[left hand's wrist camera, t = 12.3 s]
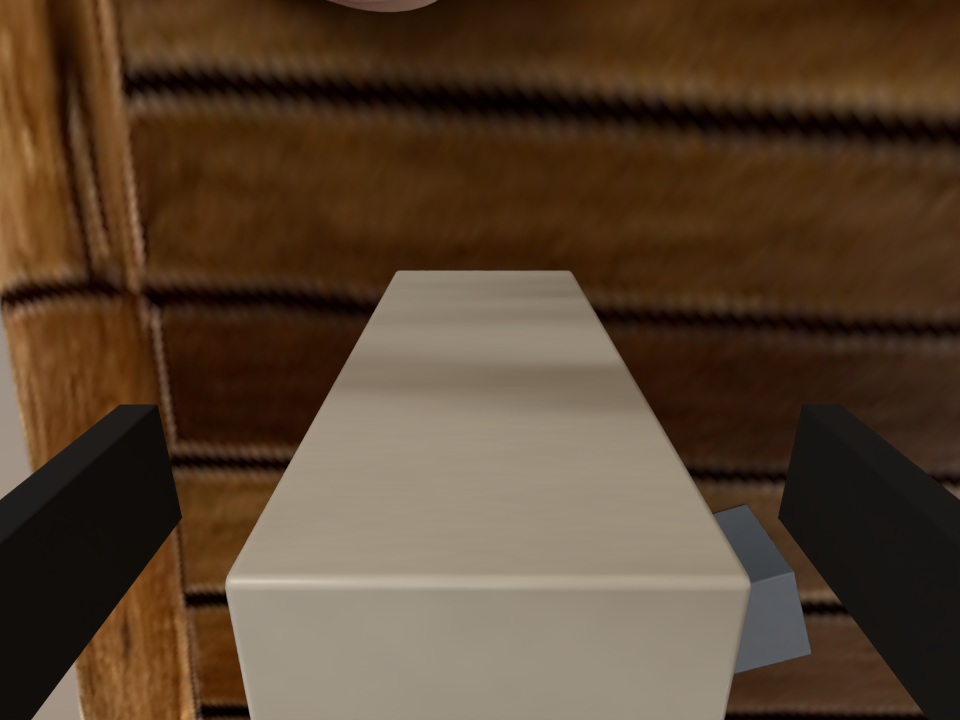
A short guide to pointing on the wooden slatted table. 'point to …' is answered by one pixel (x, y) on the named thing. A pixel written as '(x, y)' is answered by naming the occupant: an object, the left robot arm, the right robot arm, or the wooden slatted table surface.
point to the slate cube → (765, 595)
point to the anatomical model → (384, 4)
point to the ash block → (486, 529)
